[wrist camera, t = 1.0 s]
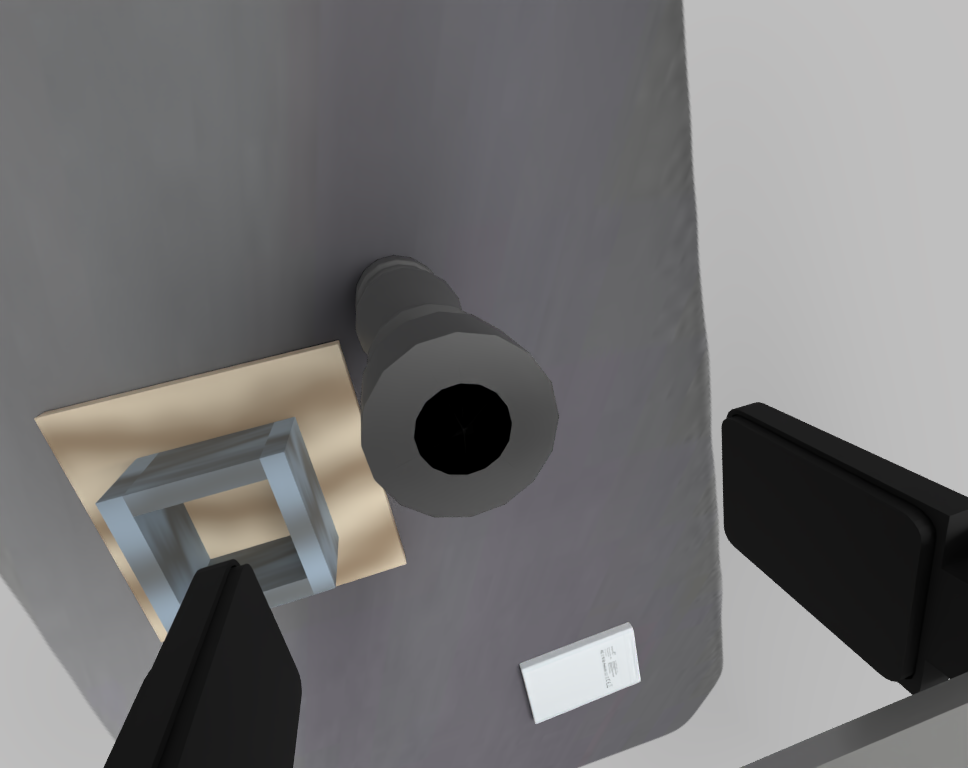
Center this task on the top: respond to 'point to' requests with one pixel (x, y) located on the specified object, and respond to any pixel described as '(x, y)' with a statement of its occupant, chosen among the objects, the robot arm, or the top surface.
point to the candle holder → (446, 397)
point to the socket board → (231, 479)
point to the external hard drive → (581, 672)
